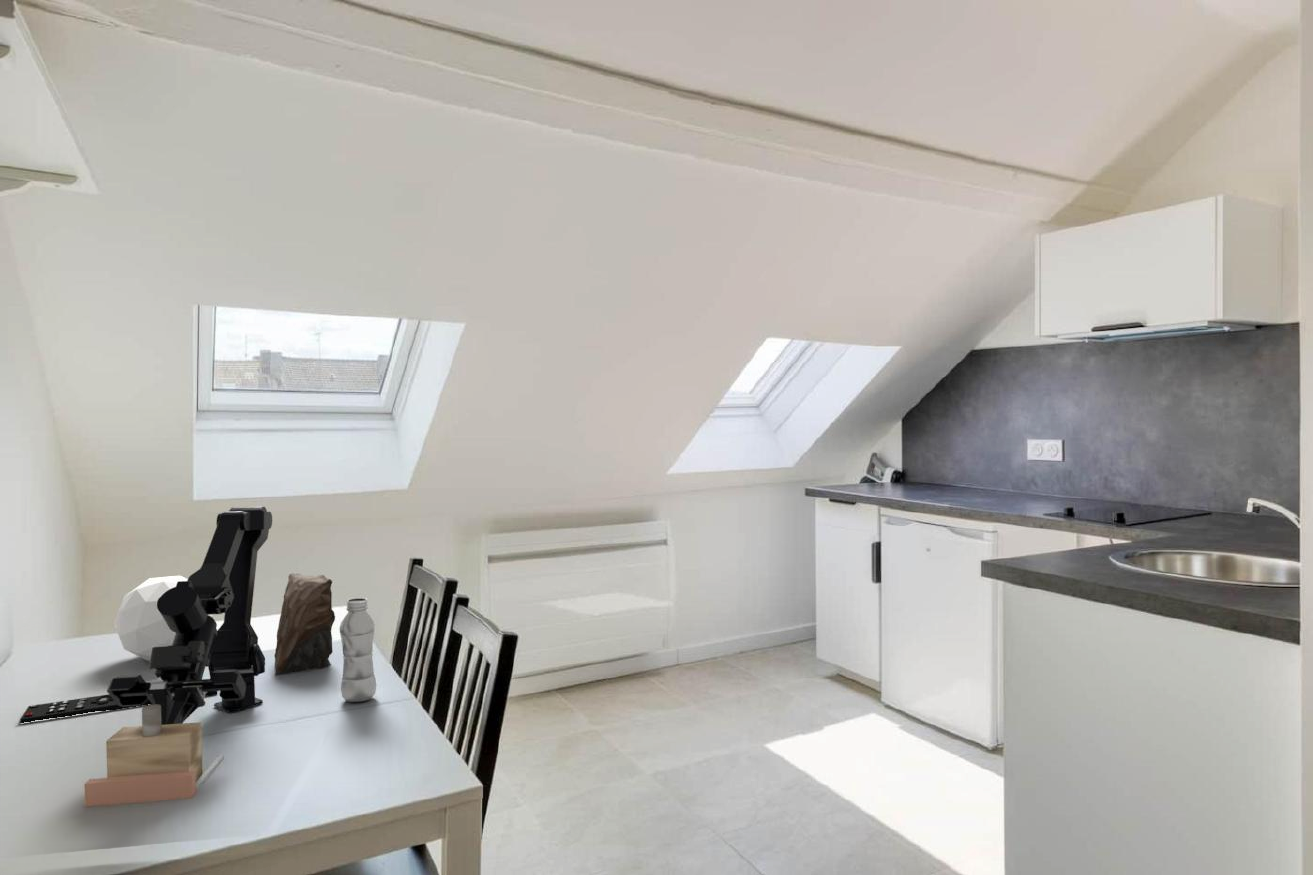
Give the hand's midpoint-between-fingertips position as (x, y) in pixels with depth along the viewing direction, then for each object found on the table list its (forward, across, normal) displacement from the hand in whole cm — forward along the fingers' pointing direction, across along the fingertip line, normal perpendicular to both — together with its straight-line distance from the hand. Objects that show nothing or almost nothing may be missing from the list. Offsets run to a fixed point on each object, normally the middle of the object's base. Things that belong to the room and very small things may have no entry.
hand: (163, 739), depth 122 cm
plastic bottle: (-18, +23, +27) cm, 40 cm away
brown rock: (-35, +5, +45) cm, 57 cm away
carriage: (+6, 0, +2) cm, 6 cm away
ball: (-44, -27, +53) cm, 74 cm away
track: (+6, 0, +4) cm, 7 cm away
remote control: (-22, -23, +33) cm, 46 cm away
